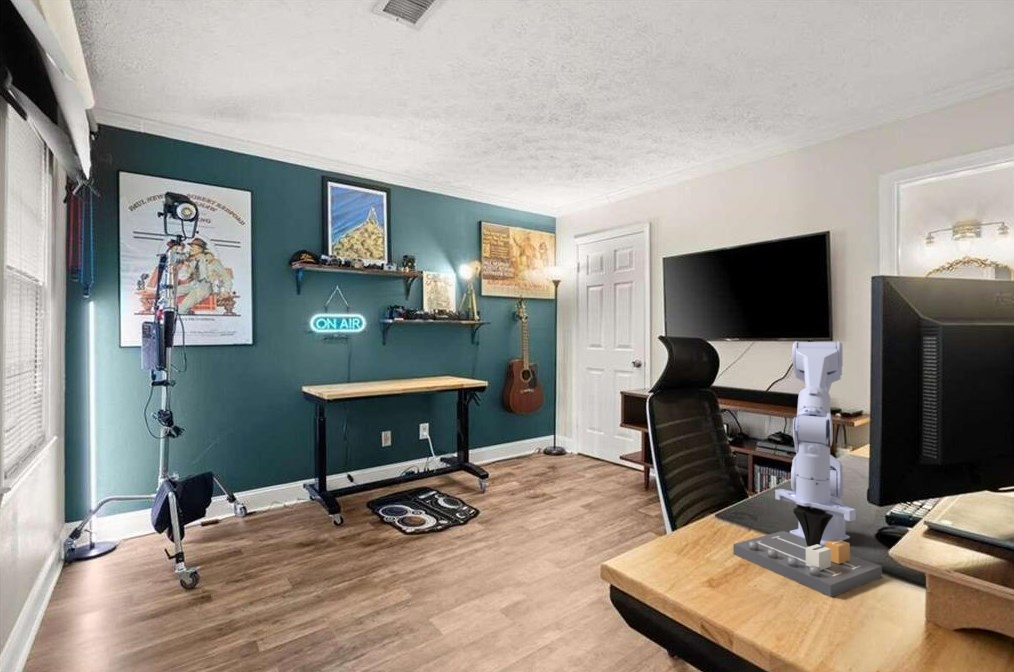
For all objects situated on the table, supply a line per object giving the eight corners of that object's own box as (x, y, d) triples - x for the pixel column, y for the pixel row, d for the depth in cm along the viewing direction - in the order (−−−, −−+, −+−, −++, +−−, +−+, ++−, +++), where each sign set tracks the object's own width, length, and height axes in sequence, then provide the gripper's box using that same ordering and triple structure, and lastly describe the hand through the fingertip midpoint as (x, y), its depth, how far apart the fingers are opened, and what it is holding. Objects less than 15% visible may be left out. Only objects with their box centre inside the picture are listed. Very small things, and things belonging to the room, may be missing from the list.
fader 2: (836, 555, 94) (836, 538, 94) (849, 560, 92) (849, 542, 92) (825, 558, 92) (825, 541, 92) (838, 564, 90) (838, 546, 90)
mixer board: (783, 539, 107) (783, 525, 107) (882, 577, 90) (881, 559, 90) (733, 553, 99) (733, 538, 100) (830, 597, 83) (830, 577, 83)
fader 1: (817, 561, 91) (817, 543, 91) (830, 566, 89) (830, 548, 89) (805, 565, 90) (805, 547, 90) (819, 570, 87) (818, 552, 87)
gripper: (765, 470, 101) (765, 536, 101) (840, 489, 88) (840, 564, 88) (787, 466, 104) (787, 530, 104) (862, 484, 91) (862, 557, 91)
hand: (813, 545), depth 96 cm, fingers closed
